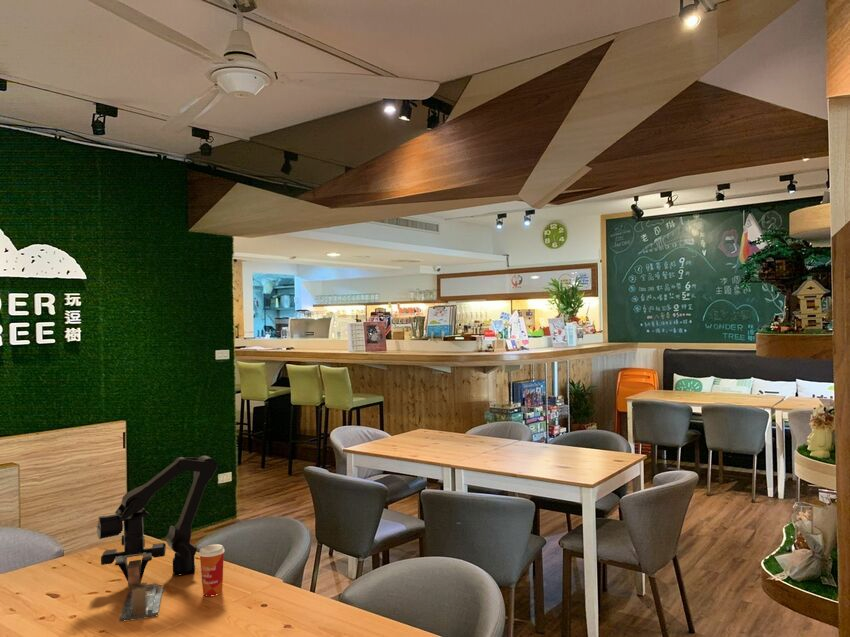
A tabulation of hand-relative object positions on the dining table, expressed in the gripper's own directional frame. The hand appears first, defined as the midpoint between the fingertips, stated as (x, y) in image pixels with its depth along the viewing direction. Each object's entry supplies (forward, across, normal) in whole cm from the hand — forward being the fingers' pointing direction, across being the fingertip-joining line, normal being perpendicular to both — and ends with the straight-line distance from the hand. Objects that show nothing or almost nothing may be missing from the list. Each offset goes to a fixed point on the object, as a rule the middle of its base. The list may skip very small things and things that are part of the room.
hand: (134, 579), depth 200 cm
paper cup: (+2, -24, +17) cm, 29 cm away
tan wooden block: (+2, 0, 0) cm, 2 cm away
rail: (+2, -4, +17) cm, 18 cm away
